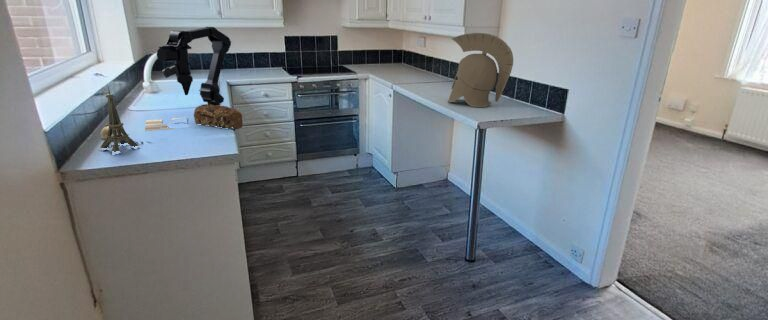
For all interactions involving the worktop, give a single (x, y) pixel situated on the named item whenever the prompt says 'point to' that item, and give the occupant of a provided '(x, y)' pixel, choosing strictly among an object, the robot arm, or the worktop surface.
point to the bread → (218, 116)
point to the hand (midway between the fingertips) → (186, 94)
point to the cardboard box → (157, 127)
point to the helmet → (481, 69)
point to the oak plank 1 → (153, 122)
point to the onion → (105, 131)
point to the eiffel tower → (113, 125)
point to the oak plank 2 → (177, 118)
